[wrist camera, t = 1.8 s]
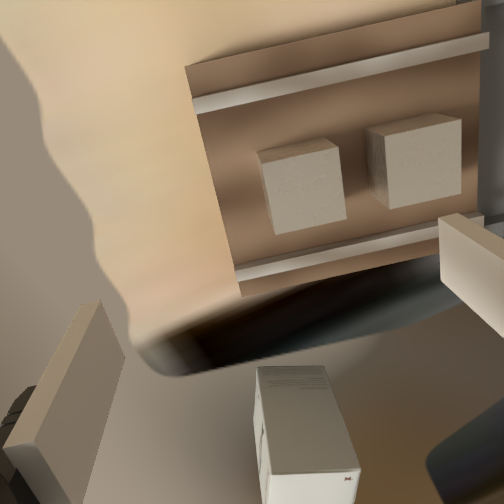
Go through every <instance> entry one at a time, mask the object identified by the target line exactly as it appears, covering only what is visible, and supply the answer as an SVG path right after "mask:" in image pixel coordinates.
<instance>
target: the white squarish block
mask: <svg viewBox="0 0 504 504" xmlns="http://www.w3.org/2000/svg"><path fill="white" fill-rule="evenodd" d="M256 156H257V161H258V166H259V171H260V176H261V181H262V186H263V191H264V196H265V201H266V206H267V211H268V216H269V219H270V221H271V224H272V227H273V230H274V232H275V235H278V234H282V233H287V232H291V231H296V230H300V229H305V228H309V227H314V226H318V225H323V224H327V223H332V222H336V221H341V220H345V219H347V216H346V208H345V199H344V191H343V182H342V174H341V165H340V157H339V148H338V146H336V145H335V144H333V143H332V142H330V141H329V140H327V139H326V138H324V137H320V138H316V139H312V140H307V141H303V142H298V143H294V144H289V145H285V146H280V147H276V148H272V149H267V150H263V151H258V152H256Z"/></svg>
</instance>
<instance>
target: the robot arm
mask: <svg viewBox="0 0 504 504" xmlns="http://www.w3.org/2000/svg"><path fill="white" fill-rule="evenodd" d="M438 228H439V250H440V272H441V281H442V282H443V283H444V284H445V285H446V286H447V287H448V288H450V289H451V290H452V291H453V292H454V293H455V294H456V295H457V296H458V297H459V298H460V299H462V300H463V301H464V302H465V303H466V304H467V305H468V306H469V307H470V308H471V309H472V310H474V311H475V312H476V313H477V314H478V315H479V316H480V317H481V318H482V319H483V320H485V321H486V322H487V323H488V324H489V325H490V326H491V327H492V328H493V329H494V330H495V331H497V332H498V333H499V334H500V335H501V336H502V337H503V338H504V239H502V238H501V237H499V236H497V235H495V234H494V233H492V232H490V231H488V230H487V229H485V228H483V227H481V226H480V225H478V224H476V223H475V222H473V221H471V220H469V219H468V218H466V217H464V216H462V215H461V214H459V213H455V214H451V215H447V216H443V217H439V218H438ZM124 360H125V356H124V353H123V351H122V349H121V347H120V344H119V342H118V339H117V337H116V335H115V332H114V330H113V328H112V326H111V323H110V321H109V319H108V316H107V314H106V312H105V309H104V307H103V305H102V303H101V301H100V300H99V301H95V302H91V303H87V304H83V305H81V306H80V308H79V309H78V311H77V313H76V315H75V317H74V319H73V320H72V322H71V324H70V326H69V328H68V330H67V331H66V333H65V335H64V337H63V339H62V340H61V343H60V344H59V346H58V348H57V349H56V351H55V353H54V355H53V357H52V359H51V360H50V362H49V364H48V366H47V368H46V370H45V371H44V373H43V375H42V377H41V379H40V380H39V382H38V384H37V385H35V386H31V387H28V388H27V389H26V390H25V391H24V392H23V393H22V394H21V395H20V396H19V397H18V398H17V399H16V400H15V401H14V403H13V404H12V406H11V408H10V410H9V411H8V413H7V416H6V417H5V418H4V419H3V421H2V423H1V425H0V426H1V427H0V504H82V503H83V499H84V496H85V492H86V489H87V486H88V482H89V479H90V476H91V472H92V469H93V465H94V462H95V459H96V455H97V452H98V449H99V445H100V442H101V438H102V435H103V431H104V428H105V424H106V421H107V418H108V414H109V411H110V408H111V404H112V401H113V397H114V394H115V391H116V387H117V384H118V381H119V377H120V374H121V370H122V367H123V364H124Z"/></svg>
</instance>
